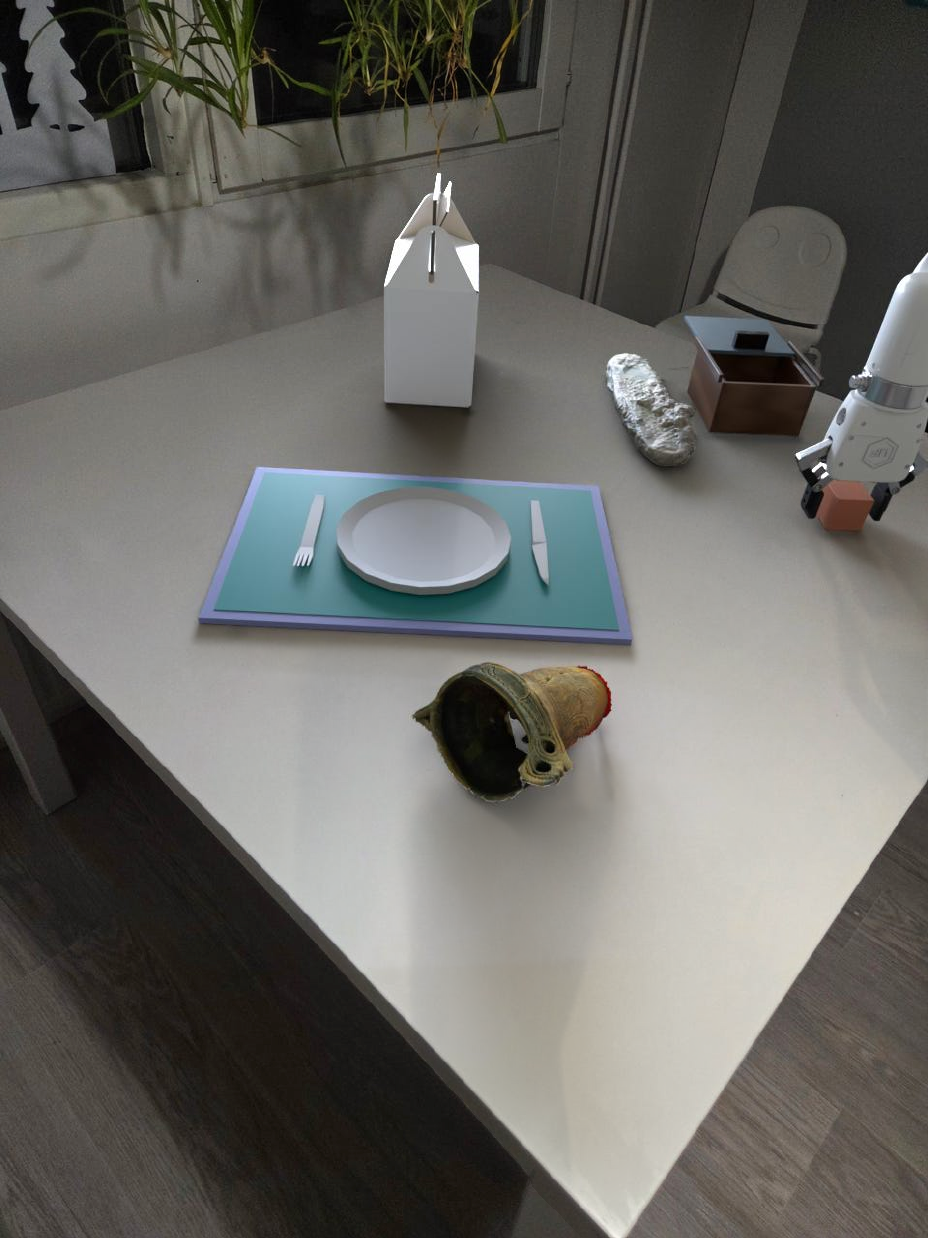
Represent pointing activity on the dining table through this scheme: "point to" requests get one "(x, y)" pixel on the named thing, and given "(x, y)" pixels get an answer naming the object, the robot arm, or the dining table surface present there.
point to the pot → (482, 732)
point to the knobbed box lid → (739, 336)
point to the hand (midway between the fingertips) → (839, 513)
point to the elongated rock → (650, 411)
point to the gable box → (431, 308)
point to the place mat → (420, 558)
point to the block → (844, 506)
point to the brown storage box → (752, 391)
